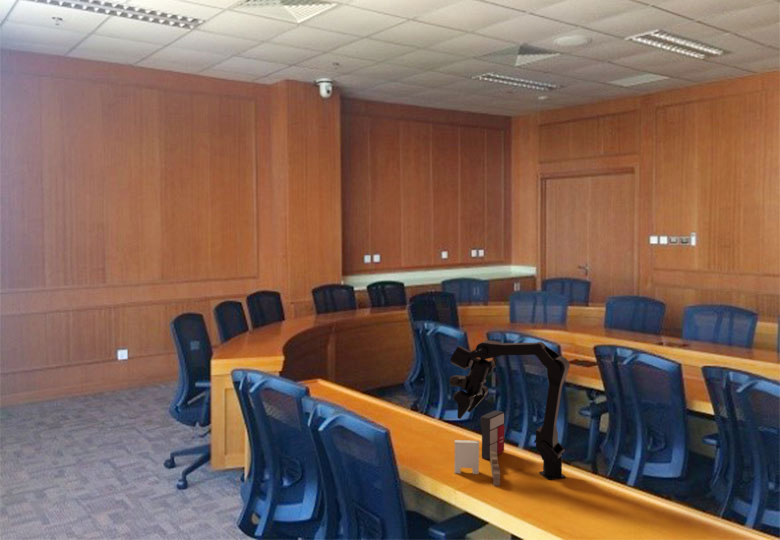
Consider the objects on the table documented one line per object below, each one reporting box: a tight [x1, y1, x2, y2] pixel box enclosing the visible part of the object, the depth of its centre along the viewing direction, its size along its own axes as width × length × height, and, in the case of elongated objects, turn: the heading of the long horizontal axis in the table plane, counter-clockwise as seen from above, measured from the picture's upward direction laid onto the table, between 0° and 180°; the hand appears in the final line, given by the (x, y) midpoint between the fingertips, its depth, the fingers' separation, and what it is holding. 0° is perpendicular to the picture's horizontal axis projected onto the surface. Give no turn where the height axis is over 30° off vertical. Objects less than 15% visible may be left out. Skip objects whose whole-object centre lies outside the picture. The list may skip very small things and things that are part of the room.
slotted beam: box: [489, 451, 501, 487], centre depth 222 cm, size 22×2×4 cm, turn 174°
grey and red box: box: [480, 410, 505, 461], centre depth 239 cm, size 11×4×15 cm, turn 143°
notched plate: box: [454, 439, 480, 475], centre depth 222 cm, size 8×2×10 cm, turn 84°
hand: (464, 415), depth 234 cm, fingers open, 9 cm apart
